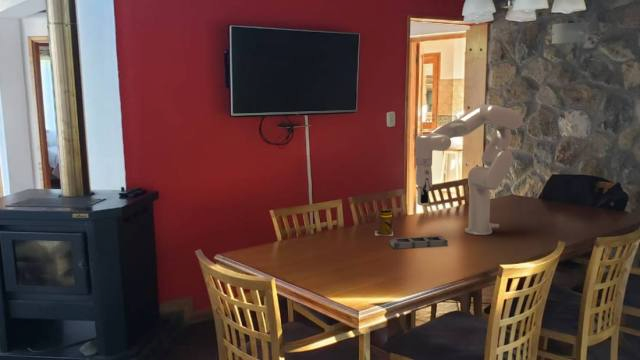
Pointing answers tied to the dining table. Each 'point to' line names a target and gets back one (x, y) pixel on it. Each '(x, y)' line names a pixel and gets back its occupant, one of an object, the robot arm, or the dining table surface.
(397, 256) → the dining table surface
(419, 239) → the grey flat rectangular frame
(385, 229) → the condiment
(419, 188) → the block
